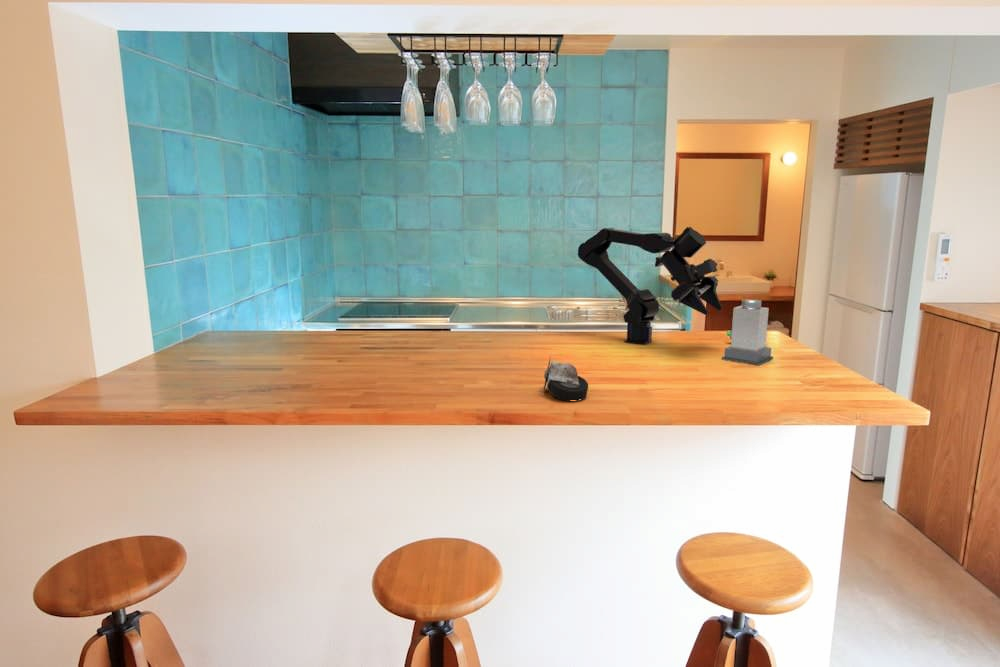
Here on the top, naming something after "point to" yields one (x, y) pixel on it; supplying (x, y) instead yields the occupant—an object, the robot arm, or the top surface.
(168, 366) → the top surface
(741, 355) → the stand
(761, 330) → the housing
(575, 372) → the caster wheel
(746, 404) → the top surface
